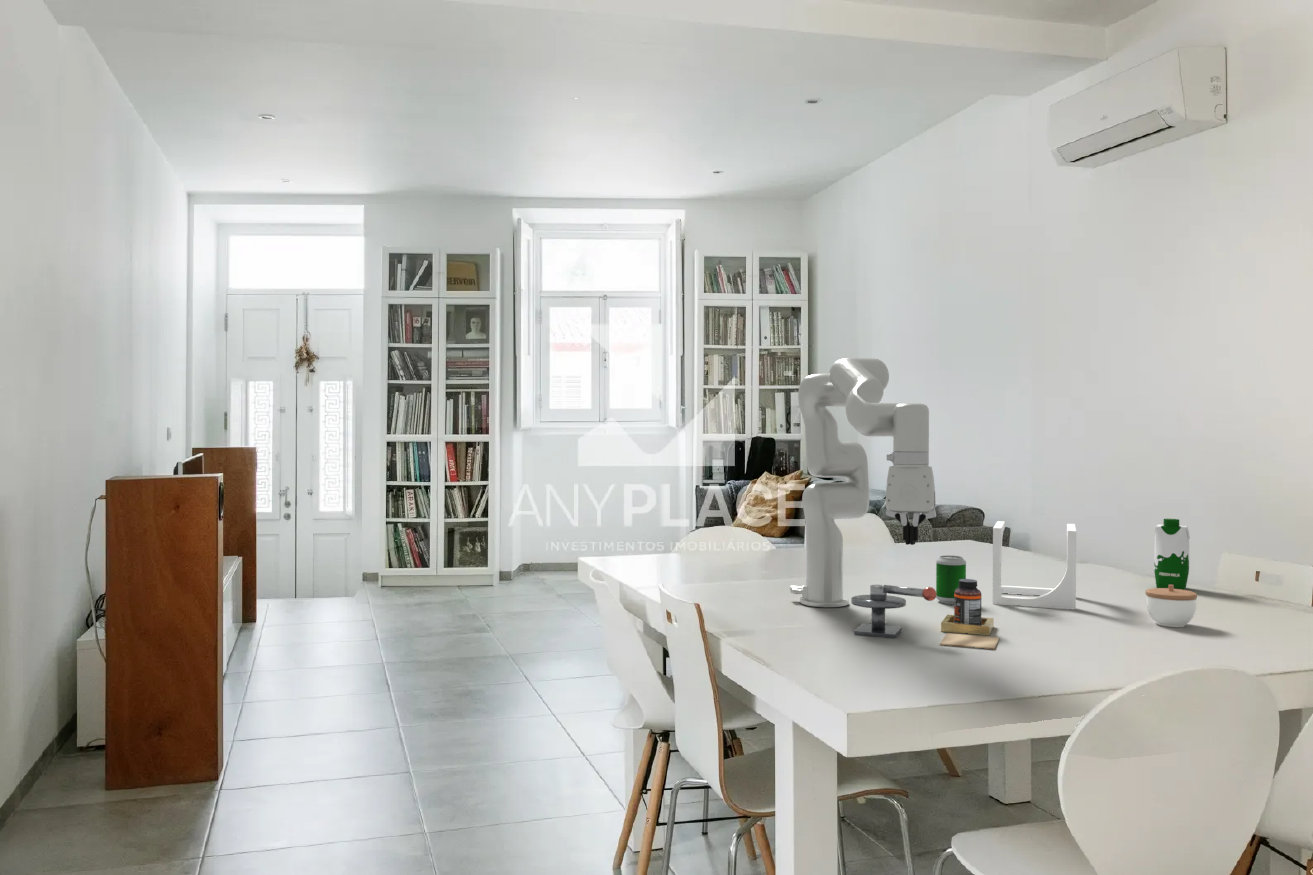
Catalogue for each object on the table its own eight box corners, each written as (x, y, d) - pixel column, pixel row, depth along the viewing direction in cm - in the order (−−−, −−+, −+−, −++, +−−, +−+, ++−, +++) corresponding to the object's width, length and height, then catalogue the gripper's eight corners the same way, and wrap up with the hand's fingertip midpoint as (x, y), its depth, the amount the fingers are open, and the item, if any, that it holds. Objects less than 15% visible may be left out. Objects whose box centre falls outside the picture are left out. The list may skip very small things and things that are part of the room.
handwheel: (841, 604, 221) (841, 582, 221) (866, 597, 230) (866, 575, 230) (924, 614, 209) (924, 591, 209) (946, 606, 218) (946, 584, 218)
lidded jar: (1192, 621, 234) (1192, 582, 234) (1200, 630, 224) (1201, 589, 224) (1142, 618, 238) (1142, 580, 238) (1148, 627, 228) (1149, 587, 228)
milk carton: (1152, 589, 281) (1153, 519, 281) (1156, 584, 289) (1156, 516, 288) (1187, 591, 276) (1188, 520, 276) (1190, 587, 284) (1190, 518, 284)
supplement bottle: (950, 626, 228) (950, 578, 228) (974, 626, 229) (975, 577, 229) (960, 632, 222) (960, 582, 222) (985, 631, 223) (985, 581, 223)
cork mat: (939, 645, 209) (939, 643, 209) (946, 635, 219) (946, 633, 219) (994, 649, 205) (994, 648, 205) (998, 639, 215) (998, 637, 215)
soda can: (967, 605, 255) (967, 559, 255) (937, 604, 257) (937, 558, 257) (964, 600, 263) (964, 555, 263) (935, 599, 264) (935, 554, 264)
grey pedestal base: (854, 634, 220) (854, 607, 219) (862, 626, 228) (862, 601, 228) (894, 638, 216) (895, 610, 216) (902, 630, 224) (902, 604, 224)
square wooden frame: (941, 631, 223) (941, 622, 223) (947, 623, 232) (947, 614, 232) (989, 635, 219) (989, 626, 219) (993, 626, 228) (993, 618, 228)
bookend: (992, 604, 257) (993, 528, 257) (996, 592, 276) (997, 521, 276) (1075, 609, 250) (1076, 531, 250) (1074, 597, 268) (1074, 523, 268)
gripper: (872, 460, 214) (872, 544, 215) (943, 461, 208) (943, 547, 208) (880, 459, 221) (879, 540, 221) (948, 460, 215) (948, 543, 215)
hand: (910, 543), depth 215 cm, fingers closed
